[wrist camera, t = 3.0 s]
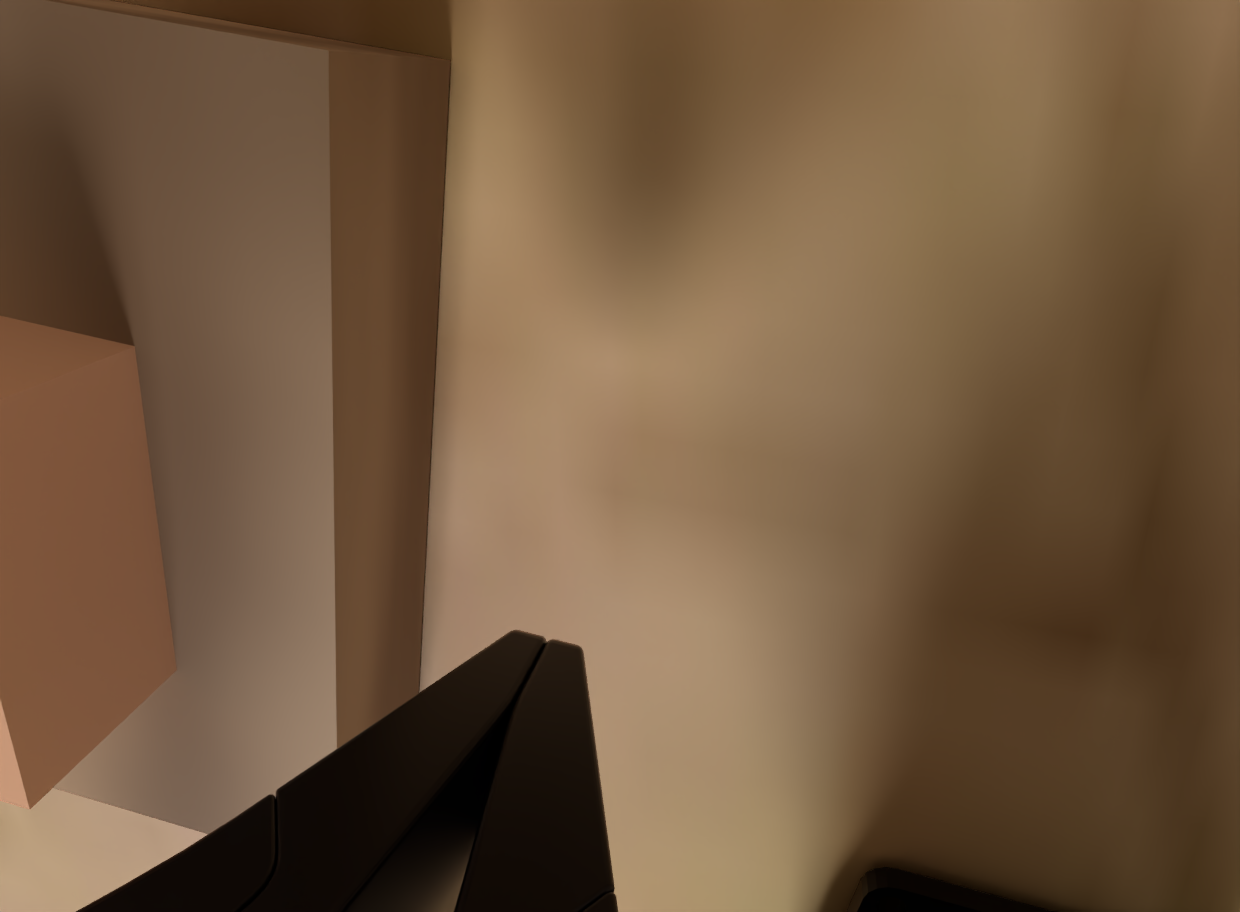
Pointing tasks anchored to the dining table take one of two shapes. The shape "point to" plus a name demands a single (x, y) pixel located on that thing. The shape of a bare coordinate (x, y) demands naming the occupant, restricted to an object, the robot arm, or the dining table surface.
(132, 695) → the terracotta tile
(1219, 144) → the dining table surface
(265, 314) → the tan board
